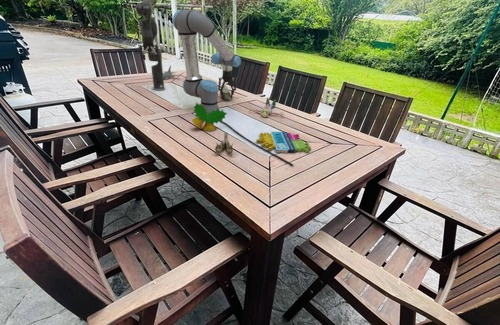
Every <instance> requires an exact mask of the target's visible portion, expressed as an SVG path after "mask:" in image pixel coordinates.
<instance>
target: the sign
mask: <svg viewBox="0 0 500 325" xmlns="http://www.w3.org/2000/svg"><path fill="white" fill-rule="evenodd" d="M299 136H300V135H299V134H298V133H296V134H294V133H291V132H287V131H270V132H264V133H263V132H260V133H259V139H258V138H257V139H256V143H257V144H261V147H262V148H264V149H267V150H268V151H269V152H271V151H272V150H273V149H275V152H276V153H283V154H285V153H287V154H288V153H290V154H293V153H296V152H298V153H301V152H305V153H310V151H311V150H312V149H311V148H312V146H309V142H304V141H303V139H302V138H299Z"/></svg>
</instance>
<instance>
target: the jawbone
mask: <svg viewBox="0 0 500 325" xmlns="http://www.w3.org/2000/svg"><path fill="white" fill-rule="evenodd" d="M223 135H224V136H223V140H222V139H221V142H220V144H218V142H215V144H216V146H215V148H214V149H215V152H214V154H215V155H217V156H218V155H220V153H221V152H223V151H224V150H226V152H227V153H228V155H229V156H233V155H234V154H233V153H234V148H233V144H234V143H230V140H228V139H229V138H228V137H229V136H228V135H229V133H228V131H226V132H224V134H223Z"/></svg>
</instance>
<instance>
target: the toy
mask: <svg viewBox="0 0 500 325" xmlns="http://www.w3.org/2000/svg"><path fill="white" fill-rule="evenodd" d="M276 105H277V100H276V98H274V99H273V101H272V103H270V99H269V97H267V98H266V101H265V106H263V108H262V109H253V108H252V107H250V108H247V110H248V112H255V113H256V112H257V113H260V114H259V116H261V117H263V118H269V116H270V115H269V114H271V115H274V116H275V115H277V116H278V115H279V116H280V117H284V116H285V113H284V112H283V111H281V112H276V111H272V110H273V109H272V108H275V107H276Z"/></svg>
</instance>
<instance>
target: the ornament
mask: <svg viewBox="0 0 500 325" xmlns="http://www.w3.org/2000/svg"><path fill="white" fill-rule="evenodd" d="M219 110H220V108H219V109H217V110H216V111H214V110H212V112H211V113H208V112H206V109H204V106H201V103H198V102H195V105H194V106H193V112H194V113H195V118H192V119H191V122H192V123H193V125H195V127H197V128H198V129H202V130H203V131H206V132H212V131H213V132H214V131H215V130H216V126H215V124H218V123H219V122H220V121H221V122H220V123H222V122H223V119H226V115H227V114H228V113H227V112H224V110H223V109H221V110H220V111H219ZM207 113H208V115H207ZM214 123H215V124H214Z"/></svg>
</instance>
